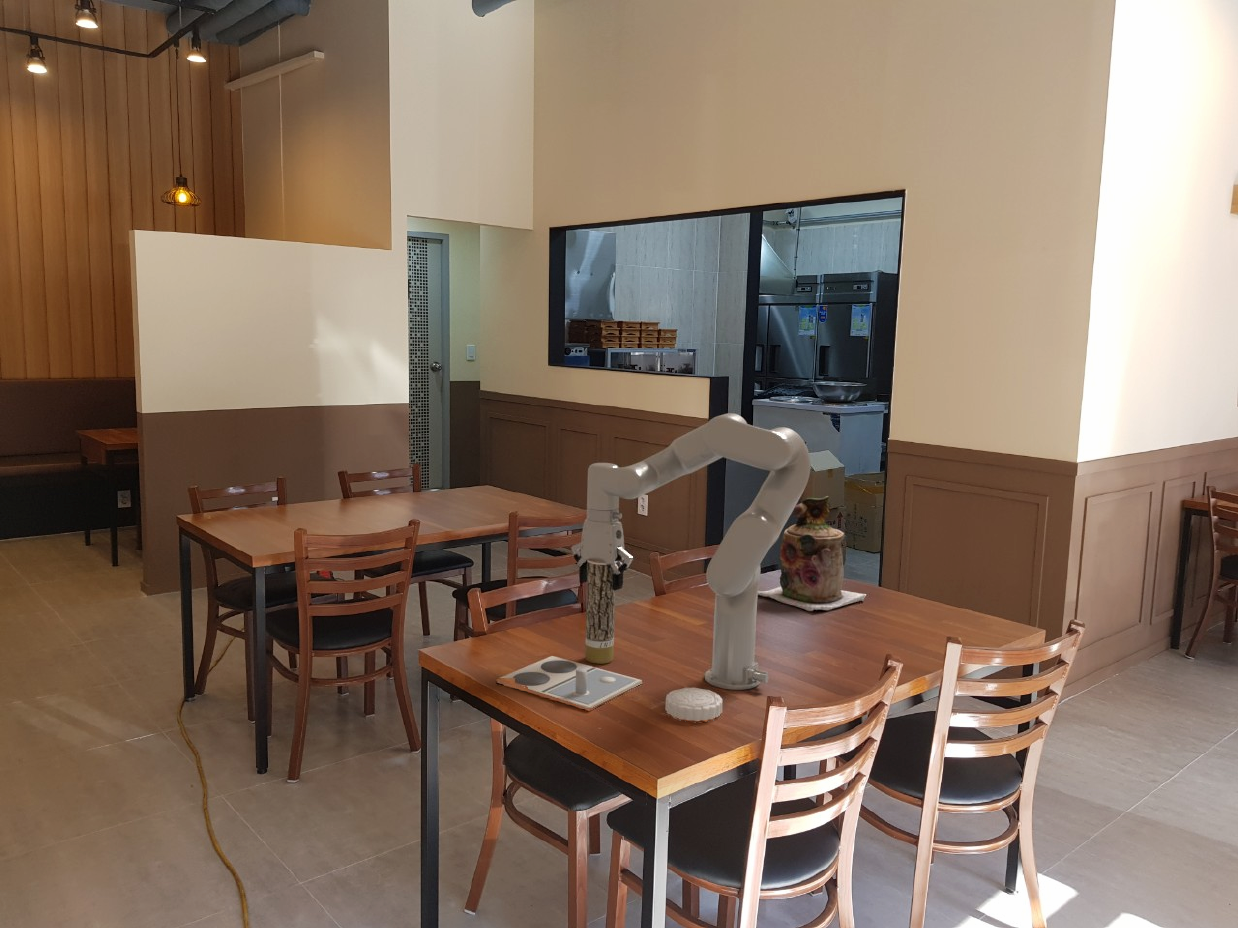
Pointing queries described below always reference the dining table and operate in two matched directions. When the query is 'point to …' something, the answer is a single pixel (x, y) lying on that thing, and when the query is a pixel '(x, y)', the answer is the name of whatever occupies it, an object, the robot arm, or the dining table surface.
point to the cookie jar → (812, 561)
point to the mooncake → (693, 704)
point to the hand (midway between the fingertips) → (600, 585)
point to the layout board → (573, 681)
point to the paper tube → (599, 612)
